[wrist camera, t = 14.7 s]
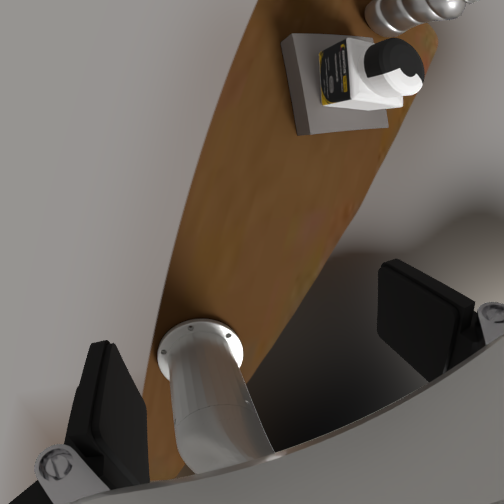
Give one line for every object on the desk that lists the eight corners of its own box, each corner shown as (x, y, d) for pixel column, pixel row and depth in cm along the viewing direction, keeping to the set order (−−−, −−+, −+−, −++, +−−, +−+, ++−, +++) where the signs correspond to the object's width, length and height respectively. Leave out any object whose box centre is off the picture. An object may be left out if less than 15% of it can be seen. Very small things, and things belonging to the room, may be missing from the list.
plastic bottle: (375, -1, 35) (465, -41, 16) (399, 32, 37) (494, 5, 19) (351, 11, 35) (445, -36, 16) (377, 46, 37) (479, 17, 19)
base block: (371, 128, 41) (388, 127, 37) (297, 135, 39) (310, 134, 35) (356, 44, 37) (372, 38, 33) (280, 42, 34) (291, 33, 31)
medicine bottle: (317, 52, 32) (374, 23, 21) (365, 60, 34) (428, 41, 23) (320, 106, 34) (381, 93, 23) (368, 111, 36) (434, 105, 25)
